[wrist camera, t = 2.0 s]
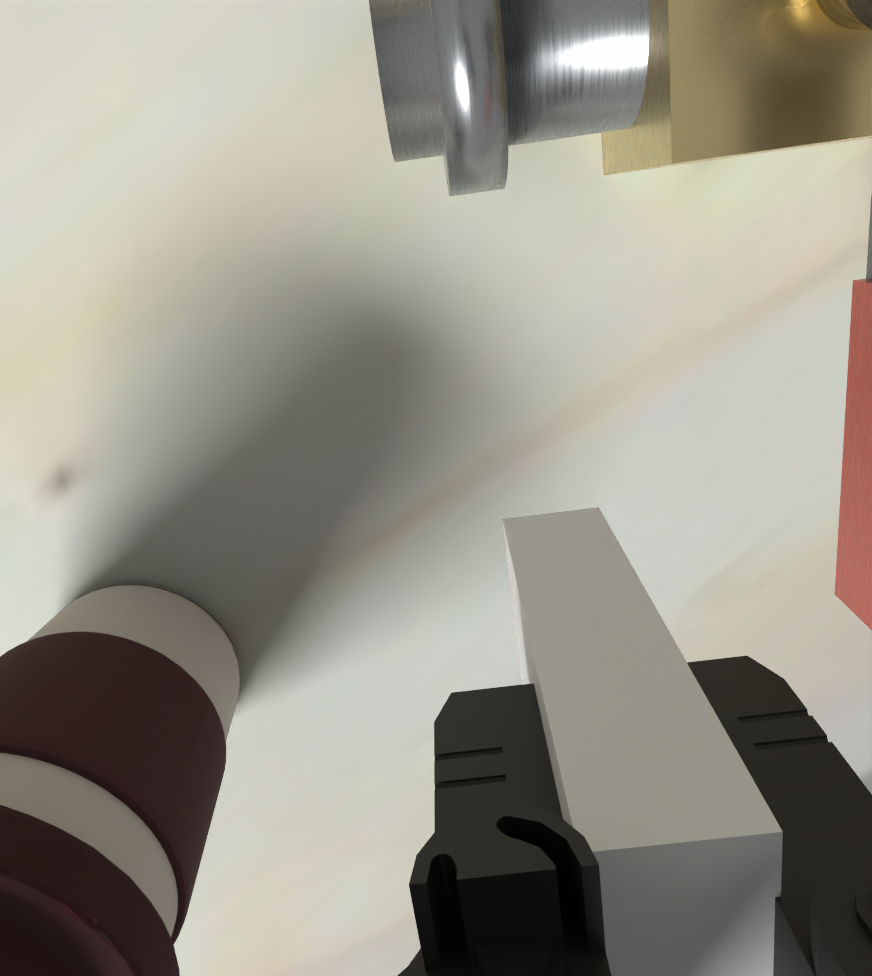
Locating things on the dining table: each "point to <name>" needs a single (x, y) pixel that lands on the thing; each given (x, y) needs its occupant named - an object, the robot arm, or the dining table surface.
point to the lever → (858, 437)
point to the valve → (618, 79)
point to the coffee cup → (109, 781)
